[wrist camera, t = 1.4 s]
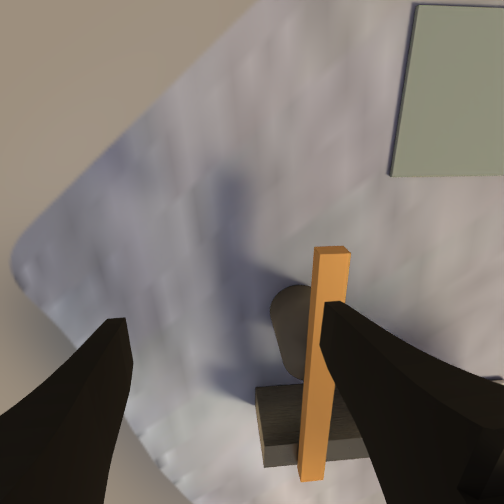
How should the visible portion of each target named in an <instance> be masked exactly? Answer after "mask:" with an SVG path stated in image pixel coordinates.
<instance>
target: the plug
mask: <svg viewBox="0 0 504 504" xmlns="http://www.w3.org/2000/svg"><path fill="white" fill-rule="evenodd" d="M310 296H311V287H309V286H306V285H294V286H290V287H287V288H285V289H283V290H282V291H280V292H279V293H278V294H277V295H276V296H275V298H274V299H273V301H272V303H271V306H270V317H271V320H272V324H273V328H274V331H275V335H276V338H277V342H278V346H279V349H280V353H281V356H282V360H283V364H284V366H285V368H286V370H287V371H288V372H289V373H290V374H291V375H292V376H294V377H296V378H298V379H301V380H304V374H305V361H306V348H307V335H308V322H309V309H310Z"/></svg>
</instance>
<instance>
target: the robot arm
mask: <svg viewBox="0 0 504 504" xmlns="http://www.w3.org/2000/svg"><path fill="white" fill-rule="evenodd" d="M319 346H320V349H321V352H322V355H323V358H324V360H325V363H326V366H327V369H328V371H329V373H330V375H331V377H332V379H333V381H334V383H335V385H336V387H337V389H338V390H339V392H340V394H341V396H342V398H343V400H344V402H345V404H346V406H347V408H348V410H349V412H350V414H351V416H352V418H353V419H354V421H355V423H356V426H357V428H358V430H359V432H360V434H361V437H362V439H363V442H364V444H365V447H366V449H367V452H368V454H369V457H370V459H371V462H372V464H373V467H374V470H375V473H376V475H377V478H378V481H379V483H380V486H381V489H382V491H383V494H384V497H385V500H386V503H387V504H504V380H496V381H490V380H488V379H485V378H482V377H480V376H477V375H474V374H472V373H469V372H467V371H465V370H462V369H460V368H457V367H455V366H452V365H450V364H448V363H446V362H443V361H441V360H439V359H437V358H435V357H433V356H431V355H429V354H427V353H425V352H423V351H421V350H419V349H417V348H415V347H413V346H412V345H410V344H408V343H406V342H405V341H403V340H401V339H399V338H398V337H396V336H394V335H393V334H391V333H389V332H388V331H386V330H385V329H383V328H381V327H380V326H378V325H377V324H375V323H374V322H372V321H371V320H369V319H368V318H366V317H365V316H363V315H362V314H360V313H359V312H357V311H356V310H354V309H353V308H351V307H350V306H348V305H346V304H345V303H343V302H341V301H329V302H324V310H323V318H322V326H321V335H320V343H319ZM132 371H133V358H132V352H131V346H130V341H129V335H128V329H127V323H126V318H113V319H107V320H106V321H105V322H104V323H103V324H102V325H101V326H100V327H99V328H98V329H97V330H96V331H95V332H94V333H93V334H92V335H91V336H90V337H89V338H88V339H87V340H86V341H85V343H84V344H83V345H82V346H81V347H80V348H79V349H78V350H77V351H76V352H75V353H74V354H73V355H72V356H71V357H70V358H69V359H68V360H67V361H66V362H65V363H64V364H63V365H61V366H60V367H59V368H58V369H57V370H56V371H55V372H54V373H53V374H52V375H51V376H50V377H48V378H47V379H46V380H45V381H44V382H43V383H42V384H41V385H39V386H38V387H37V388H36V389H35V390H33V391H32V392H31V393H30V394H28V395H27V396H26V397H25V398H23V399H22V400H21V401H20V402H18V403H17V404H16V405H14V406H13V407H12V408H10V409H9V410H8V411H6V412H5V413H4V414H2V415H1V416H0V504H104V498H105V491H106V486H107V480H108V473H109V469H110V464H111V459H112V455H113V451H114V448H115V444H116V441H117V437H118V433H119V429H120V426H121V422H122V418H123V415H124V411H125V407H126V403H127V399H128V396H129V392H130V386H131V379H132Z"/></svg>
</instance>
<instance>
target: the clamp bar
mask: <svg viewBox="0 0 504 504" xmlns="http://www.w3.org/2000/svg"><path fill="white" fill-rule="evenodd" d="M350 257H351V253H350V252H349V251H348V250H347V249H346V248H345V247H344V246H325V247H314V257H313V270H312V283H311V296H310V309H309V322H308V335H307V348H306V361H305V374H304V387H303V400H302V413H301V426H300V438H299V451H298V464H297V468H298V473H299V477H300V481H301V482H308V481H317V480H323V478H324V470H325V462H326V453H327V445H328V437H329V429H330V421H331V412H332V404H333V396H334V388H335V383H334V381H333V379H332V377H331V375H330V373H329V371H328V369H327V366H326V363H325V360H324V358H323V355H322V352H321V349H320V346H319V343H320V335H321V326H322V318H323V310H324V302H329V301H341V302H343V303H345V298H346V290H347V281H348V273H349V265H350Z"/></svg>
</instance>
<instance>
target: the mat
mask: <svg viewBox="0 0 504 504" xmlns="http://www.w3.org/2000/svg"><path fill="white" fill-rule="evenodd" d="M442 176H504V8H487V7H460V6H433V5H418V6H416V10H415V16H414V23H413V29H412V36H411V42H410V49H409V55H408V62H407V68H406V75H405V81H404V87H403V94H402V100H401V107H400V113H399V120H398V126H397V133H396V139H395V146H394V152H393V159H392V165H391V172H390V177H442Z"/></svg>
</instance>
